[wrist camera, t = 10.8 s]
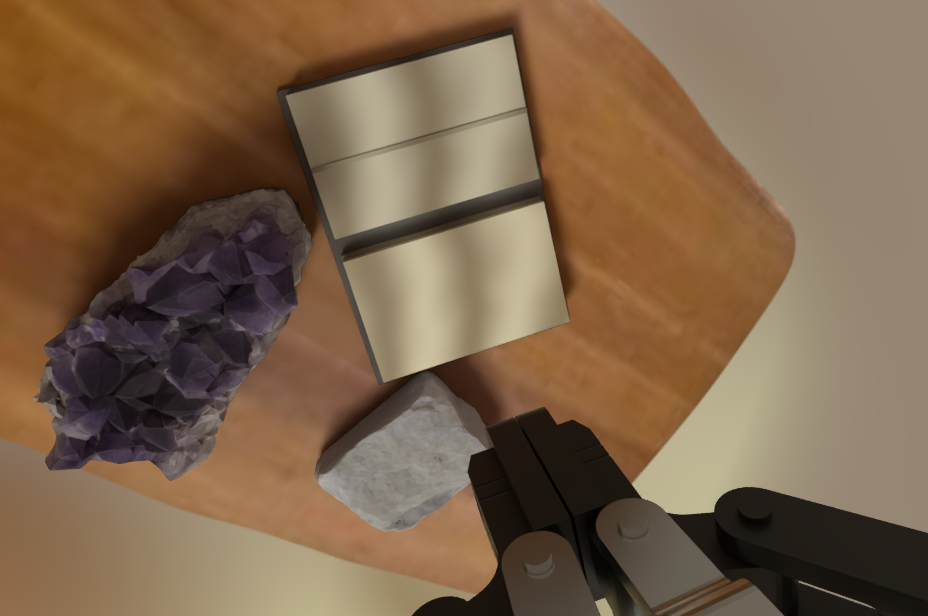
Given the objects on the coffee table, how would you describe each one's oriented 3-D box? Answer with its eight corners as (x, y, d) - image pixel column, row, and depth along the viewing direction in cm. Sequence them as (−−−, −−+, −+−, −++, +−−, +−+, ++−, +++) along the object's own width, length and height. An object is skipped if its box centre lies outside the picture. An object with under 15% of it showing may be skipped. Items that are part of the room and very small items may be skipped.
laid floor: (378, 382, 46) (380, 393, 44) (276, 91, 37) (275, 92, 36) (566, 321, 47) (574, 329, 46) (511, 28, 39) (519, 27, 37)
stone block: (493, 419, 52) (421, 355, 46) (515, 460, 48) (440, 395, 42) (386, 504, 53) (302, 452, 47) (399, 551, 49) (309, 501, 43)
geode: (186, 120, 37) (179, 152, 28) (345, 225, 43) (378, 277, 34) (11, 384, 39) (-44, 485, 31) (184, 448, 45) (178, 548, 37)
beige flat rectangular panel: (382, 375, 44) (383, 382, 43) (341, 254, 41) (341, 258, 40) (563, 316, 46) (569, 321, 45) (537, 195, 43) (543, 197, 42)
